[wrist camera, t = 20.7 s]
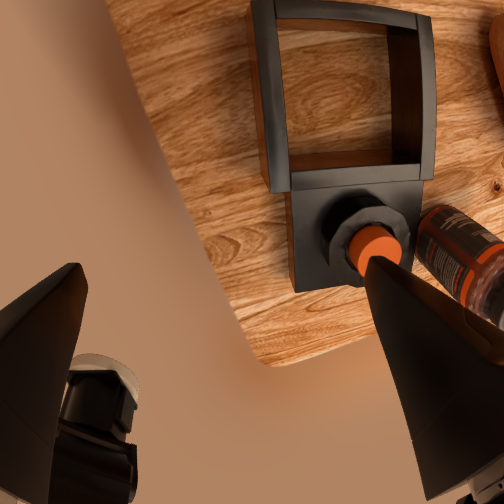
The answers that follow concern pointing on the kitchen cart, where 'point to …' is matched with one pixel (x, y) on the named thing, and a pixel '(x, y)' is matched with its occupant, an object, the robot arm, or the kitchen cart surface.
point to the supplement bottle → (464, 261)
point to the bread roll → (498, 46)
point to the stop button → (373, 246)
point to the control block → (346, 229)
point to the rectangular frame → (402, 93)
